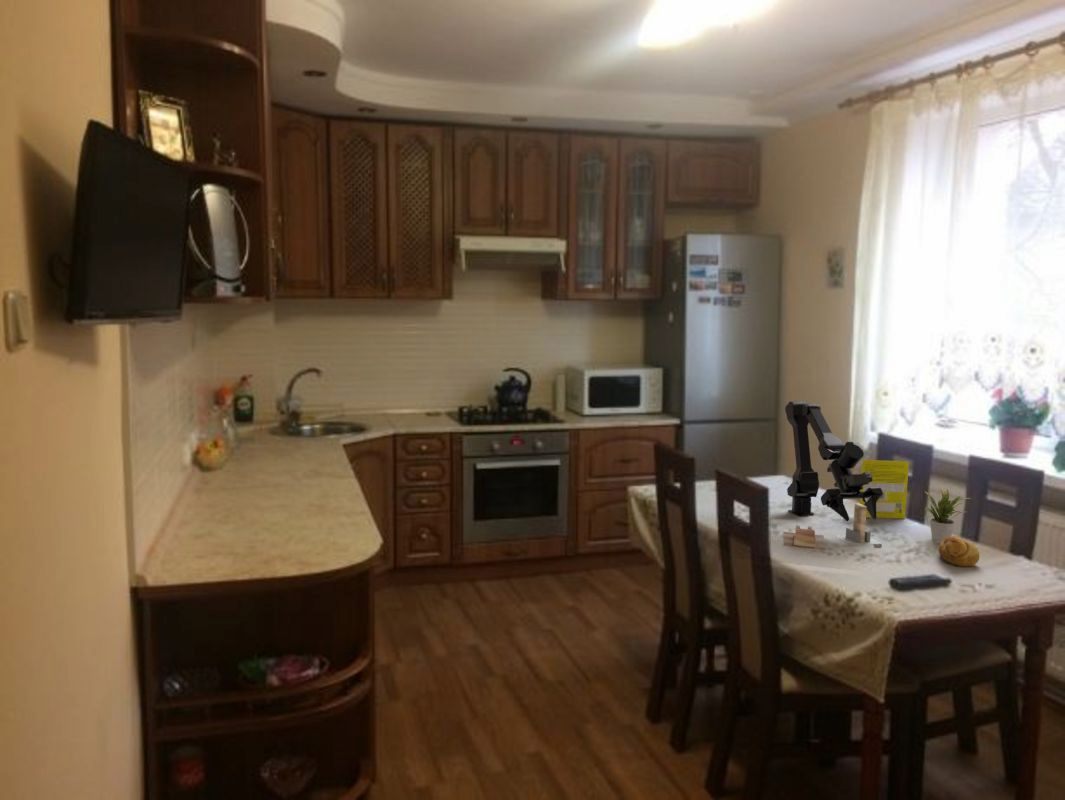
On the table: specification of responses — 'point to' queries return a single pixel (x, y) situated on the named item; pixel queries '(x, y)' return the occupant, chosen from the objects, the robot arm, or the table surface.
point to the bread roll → (958, 551)
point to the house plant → (943, 516)
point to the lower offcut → (804, 542)
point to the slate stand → (858, 538)
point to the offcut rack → (790, 542)
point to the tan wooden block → (860, 520)
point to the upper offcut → (805, 533)
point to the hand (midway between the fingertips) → (861, 519)
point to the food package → (888, 486)
